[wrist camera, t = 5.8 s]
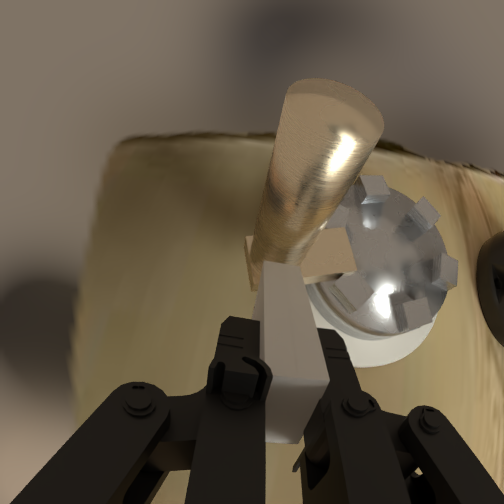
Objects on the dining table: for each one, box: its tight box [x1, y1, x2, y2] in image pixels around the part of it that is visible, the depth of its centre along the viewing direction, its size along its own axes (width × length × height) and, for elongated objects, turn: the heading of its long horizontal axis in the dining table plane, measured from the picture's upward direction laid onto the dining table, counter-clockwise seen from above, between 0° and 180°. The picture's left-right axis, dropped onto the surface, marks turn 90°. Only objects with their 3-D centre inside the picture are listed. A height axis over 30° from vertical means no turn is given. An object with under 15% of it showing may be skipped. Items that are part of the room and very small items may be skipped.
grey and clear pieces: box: [244, 78, 458, 341], centre depth 16 cm, size 16×12×16 cm
